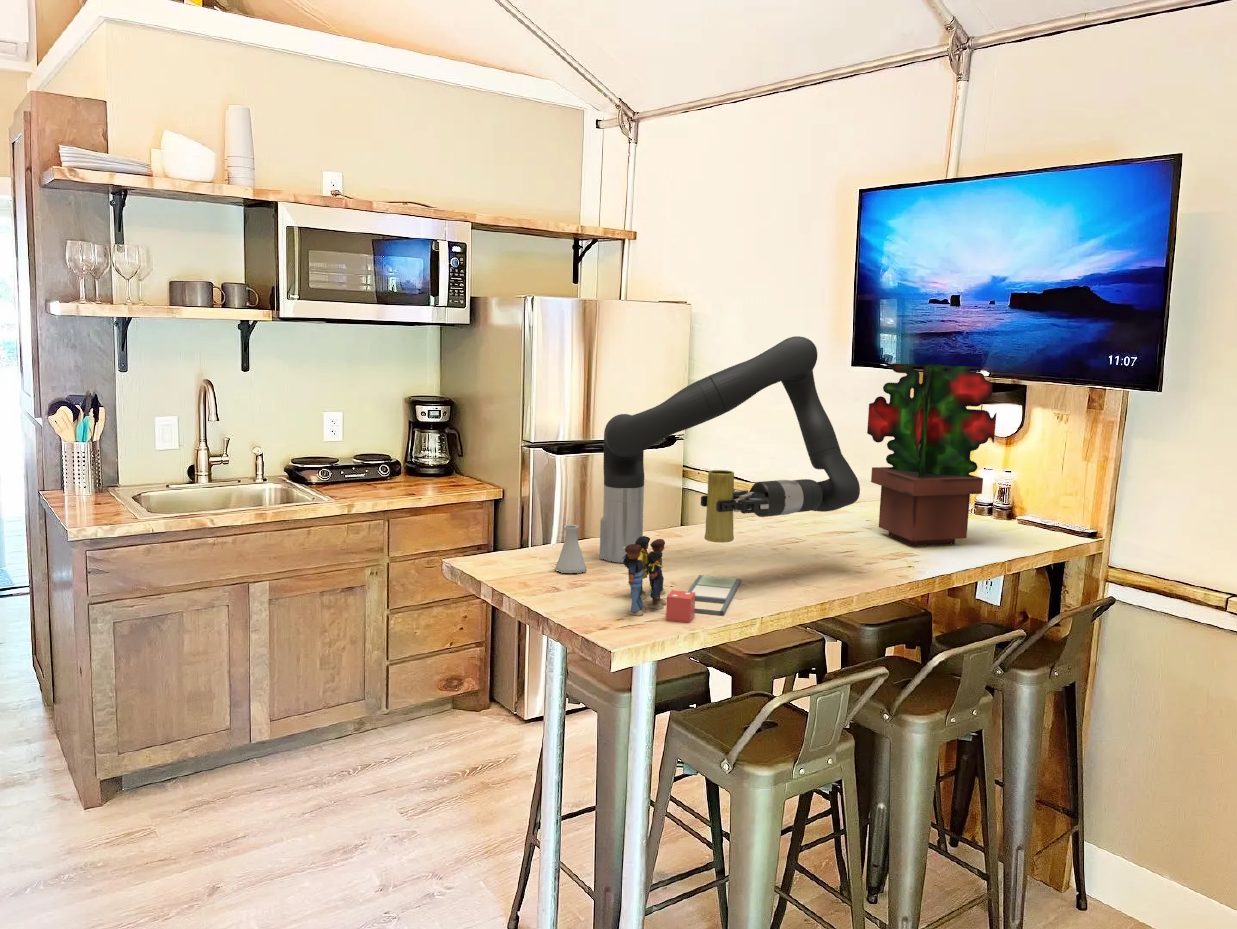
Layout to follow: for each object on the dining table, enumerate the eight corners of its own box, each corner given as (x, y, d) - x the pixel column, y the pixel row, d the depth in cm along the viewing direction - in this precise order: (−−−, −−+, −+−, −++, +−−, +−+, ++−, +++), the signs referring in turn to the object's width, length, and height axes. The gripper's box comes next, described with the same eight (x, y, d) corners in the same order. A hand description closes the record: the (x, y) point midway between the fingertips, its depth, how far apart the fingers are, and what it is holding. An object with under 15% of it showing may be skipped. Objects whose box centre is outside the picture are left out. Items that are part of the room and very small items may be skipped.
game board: (676, 610, 184) (677, 606, 184) (699, 578, 207) (699, 574, 207) (723, 615, 182) (723, 611, 182) (740, 582, 205) (741, 578, 205)
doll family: (671, 621, 178) (673, 551, 176) (622, 620, 178) (624, 550, 176) (663, 586, 201) (665, 523, 199) (620, 585, 201) (621, 522, 199)
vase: (737, 542, 198) (739, 474, 196) (708, 543, 197) (710, 474, 195) (729, 535, 204) (731, 469, 202) (701, 536, 203) (703, 469, 201)
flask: (590, 574, 209) (591, 529, 207) (558, 576, 207) (558, 530, 205) (582, 565, 216) (583, 522, 214) (551, 567, 214) (551, 523, 212)
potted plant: (933, 529, 262) (946, 362, 255) (985, 548, 241) (1000, 368, 234) (860, 532, 256) (871, 362, 249) (907, 552, 235) (920, 367, 228)
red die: (666, 620, 178) (666, 596, 178) (671, 613, 183) (671, 590, 182) (690, 622, 177) (690, 598, 176) (694, 615, 181) (695, 592, 181)
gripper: (757, 475, 211) (691, 480, 204) (798, 486, 199) (729, 492, 191) (756, 508, 213) (690, 515, 205) (796, 521, 200) (728, 529, 192)
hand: (709, 504), depth 198 cm, fingers closed on vase, 5 cm apart
